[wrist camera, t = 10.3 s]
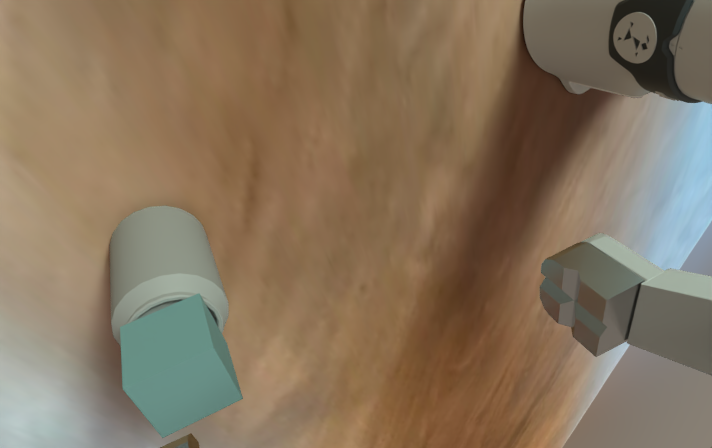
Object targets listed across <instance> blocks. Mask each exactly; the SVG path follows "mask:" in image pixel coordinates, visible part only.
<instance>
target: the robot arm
mask: <svg viewBox="0 0 712 448" xmlns="http://www.w3.org/2000/svg"><path fill="white" fill-rule="evenodd" d="M523 29H524V37H525V42H526V46H527V48H528V51H529V53H530V55H531V57H532V59H533V60H534V62H535V63H536V64H537V65H538V66H539V67H540V68H541V69H543V70H544V71H546V72H548V73H551V74H553V75H555V76H557V77H558V78H560V80H561V82H562V84H563V85H564V87H565V88H566V90H567V91H568V92H570V93H574V94H582V93H584V92H586V91H587V90H589V89H590V88H594V89H598V90H602V91H606V92H610V93H614V94H618V95H622V96H627V97H631V98H641V97H643V95H645V94H648V93H650V92H653V93H656V94H659V96H661V97H664V98H667V99H671V100H677V101H679V100H680V101H684V102H687V103H698V102H702V101H703V102H706V103H709V104H712V0H525V5H524V15H523ZM541 273H542V274H543V275H544V276H545V277H546V278H545V279H544V281H543V283H542V284H541V286H540V299H541V301H542V304H543V306H544V308H545V310H546V311H547V312H548V314H549V315H550V316H551V317H552V318H553V319H554V320H555V321H556V322H557V323H558V324H562V325H565V326H569V327H571V329H572V334H573V337H574V338H575V339H576V340H577V341H578V342H580V343H581V344H582V345H583V346H584V347H585V348H586V349H587V350H589V351H590V352H591V353H592V354H593V355H594V356H595V357H597V356H599V355H601V354H603V353H605V352H607V351H609V350H611V349H613V348H615V347H616V346H618V345H620V344H622V343H624V342H626V341H627V343H628V344H630V345H633V346H636V347H638V348H641V349H644V350H646V351H649V352H651V353H654V354H657V355H659V356H662V357H664V358H667V359H670V360H672V361H675V362H678V363H680V364H683V365H686V366H688V367H691V368H693V369H696V370H699V371H701V372H704V373H706V374H709V375H712V277H711V276H706V275H701V274H695V273H691V272H686V271H681V270H676V269H671V268H670V269H667V270H665V271H664V270H662V269H661V268H659V267H658V266H656V265H654V264H653V263H651V262H650V261H648V260H647V259H645V258H643V257H642V256H640V255H639V254H637V253H635V252H634V251H632V250H631V249H629V248H627V247H626V246H624V245H623V244H621V243H619V242H618V241H616V240H615V239H613V238H611V237H610V236H608V235H606V234H602V233H598V234H596V235H594V236H592V237H590V238H588V239H586V240H584V241H582V242H580V243H576V244H574V245H572V246H570V247H568V248H566V249H565V250H563V251H561V252H559V253H557V254H555V255H553V256H551V257H549V258H547V259H545V260H544V262H543V263H542V266H541ZM160 448H199V443H198V441H197V440H196V439H195V437H194V436H193V435H192V434H189V435H186V436H184V437H182V438H180V439H178V440H176V441H173V442H171V443H169V444H167V445H165V446H162V447H160ZM711 448H712V447H711Z"/></svg>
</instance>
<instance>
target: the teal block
mask: <svg viewBox="0 0 712 448" xmlns="http://www.w3.org/2000/svg"><path fill="white" fill-rule="evenodd" d="M120 338H121V361H122V385H123V390H124V391H125V392H126V394H127V395H128V396H129V397H130V399H131V400H132V401H133V402H134V404H135V405H136V406H137V407H138V408H139V410H140V411H141V412H142V413H143V415H144V416H145V417H146V418H147V419H148V421H149V422H150V423H151V424H152V426H153V427H154V428H155V429H156V430H157V432H158V433H159V434H160V435H161V437H162V438H164V437H166V436H168V435H170V434H172V433H174V432H176V431H178V430H180V429H182V428H184V427H186V426H188V425H190V424H192V423H194V422H196V421H198V420H200V419H202V418H204V417H206V416H209V415H211V414H213V413H215V412H217V411H219V410H221V409H223V408H225V407H227V406H229V405H231V404H233V403H235V402H237V401H239V400H241V399H243V397H242V394H241V390H240V387H239V384H238V380H237V377H236V373H235V370H234V366H233V363H232V360H231V356H230V353H229V349H228V346H227V343H226V341H225V339H224V337H223V335H222V333H221V332H220V330H219V328H218V326H217V324H216V322H215V321H214V319H213V317H212V315H211V313H210V311H209V309H208V308H207V306H206V304H205V302H204V300H203V298H202V297H201V295H200V293H198V294H196V295H194V296H191V297H189V298H187V299H184V300H182V301H180V302H177V303H175V304H173V305H170V306H168V307H166V308H163V309H161V310H159V311H156V312H154V313H152V314H149V315H147V316H145V317H142V318H140V319H138V320H135V321H133V322H131V323H128V324H126V325H124V326H121V327H120Z"/></svg>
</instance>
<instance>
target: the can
mask: <svg viewBox="0 0 712 448" xmlns="http://www.w3.org/2000/svg"><path fill="white" fill-rule="evenodd" d="M110 290H111V325H112V331H113V336H114V338H115V339H116V341H117V342H118V344H119V345H120V346H121V338H120V327H121V326H124V325H126V324H128V323H131V322H133V321H135V320H138V319H140V318H142V317H145V316H147V315H149V314H152V313H154V312H156V311H159V310H161V309H163V308H166V307H168V306H170V305H173V304H175V303H177V302H180V301H182V300H184V299H187V298H189V297H191V296H194V295H196V294H198V293H200V295H201V297H202V298H203V300H204V302H205V304H206V306H207V308H208V309H209V311H210V313H211V315H212V317H213V319H214V321H215V322H216V324H217V326H218V328H219V330H220V332H221V333H222V332H223V330H224V326H225V323H226V321H227V318H228V300H227V297H226V294H225V291H224V288H223V285H222V282H221V279H220V276H219V272H218V269H217V266H216V263H215V260H214V257H213V254H212V251H211V248H210V244H209V241H208V238H207V235H206V233H205V231H204V228H203V226H202V224H201V223H200V222H199V221H198V220H197V219H196V218H195V217H194V216H193V215H192V214H190V213H188V212H186V211H184V210H182V209H180V208H175V207H169V206H155V207H147V208H145V209H142V210H139V211H136V212H134V213H132V214H131V215H129V216H128V217H127V218H125V219H124V220H122V221H121V222H120V224H119V225H118V226H117V228H116V229H115V231H114V232H113V234H112V238H111V242H110Z"/></svg>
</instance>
